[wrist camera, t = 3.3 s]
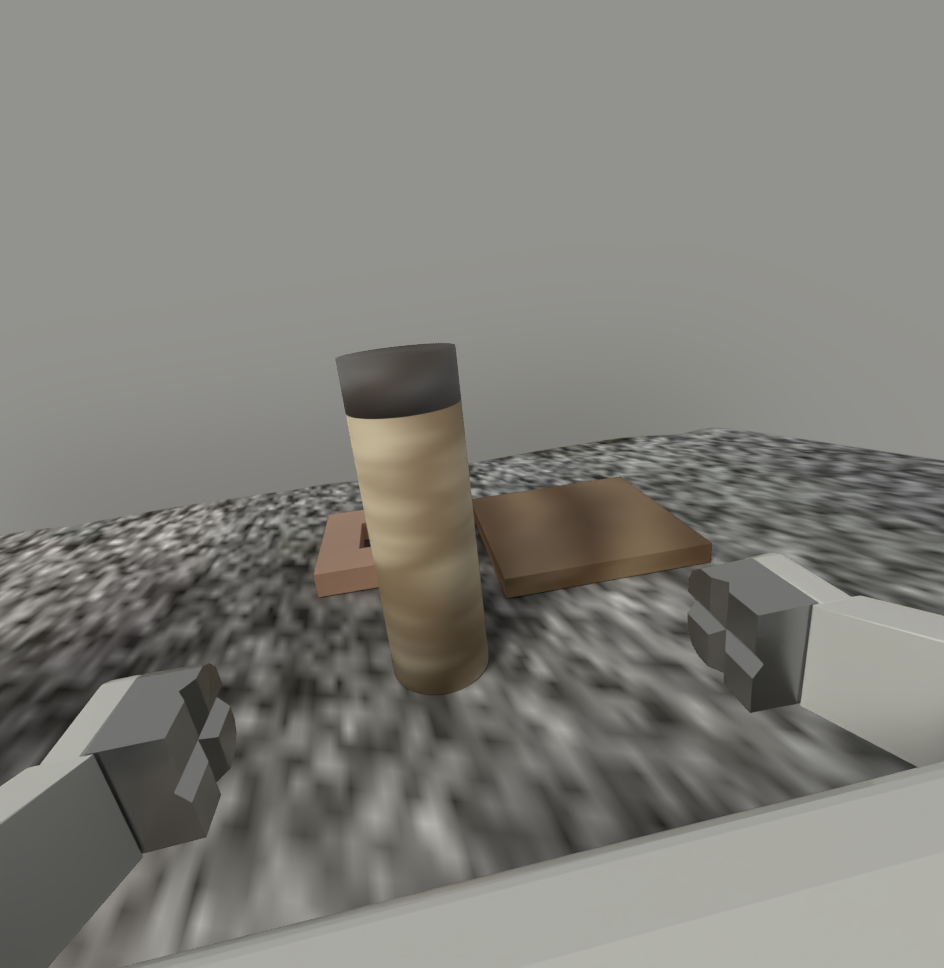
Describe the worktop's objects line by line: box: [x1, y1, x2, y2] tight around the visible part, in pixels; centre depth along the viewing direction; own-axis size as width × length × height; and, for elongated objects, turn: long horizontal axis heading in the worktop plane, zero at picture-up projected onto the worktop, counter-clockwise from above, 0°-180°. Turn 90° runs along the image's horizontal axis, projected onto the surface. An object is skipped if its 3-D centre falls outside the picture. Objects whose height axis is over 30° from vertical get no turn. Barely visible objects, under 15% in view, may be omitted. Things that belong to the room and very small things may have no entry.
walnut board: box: [472, 477, 712, 598], centre depth 34 cm, size 12×12×1 cm
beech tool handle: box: [336, 343, 489, 695], centre depth 21 cm, size 4×4×14 cm
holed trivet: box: [313, 510, 378, 597], centre depth 34 cm, size 9×9×2 cm
